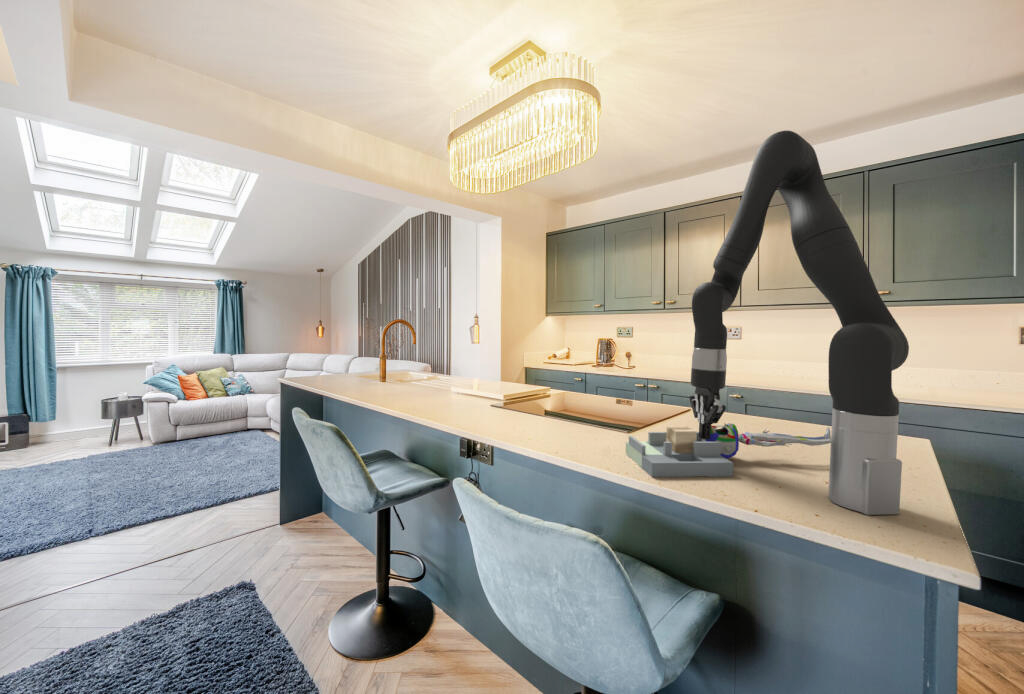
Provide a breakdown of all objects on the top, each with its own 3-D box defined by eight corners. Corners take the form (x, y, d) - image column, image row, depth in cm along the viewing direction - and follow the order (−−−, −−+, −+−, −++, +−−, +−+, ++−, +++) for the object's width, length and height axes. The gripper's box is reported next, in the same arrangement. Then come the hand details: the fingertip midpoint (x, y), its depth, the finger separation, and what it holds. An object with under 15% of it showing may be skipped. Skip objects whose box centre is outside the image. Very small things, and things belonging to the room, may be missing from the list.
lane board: (732, 476, 91) (733, 448, 91) (651, 476, 90) (652, 449, 90) (694, 453, 108) (695, 429, 108) (625, 453, 107) (626, 430, 107)
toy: (849, 429, 94) (708, 427, 99) (849, 466, 95) (708, 463, 99) (822, 419, 104) (696, 418, 109) (822, 452, 105) (696, 450, 109)
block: (696, 452, 98) (696, 431, 98) (675, 452, 98) (675, 431, 98) (685, 446, 103) (686, 426, 103) (666, 446, 103) (666, 426, 103)
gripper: (740, 371, 94) (735, 447, 95) (709, 364, 107) (705, 431, 108) (707, 370, 93) (703, 446, 95) (680, 363, 106) (676, 430, 108)
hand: (704, 438), depth 101 cm, fingers closed
